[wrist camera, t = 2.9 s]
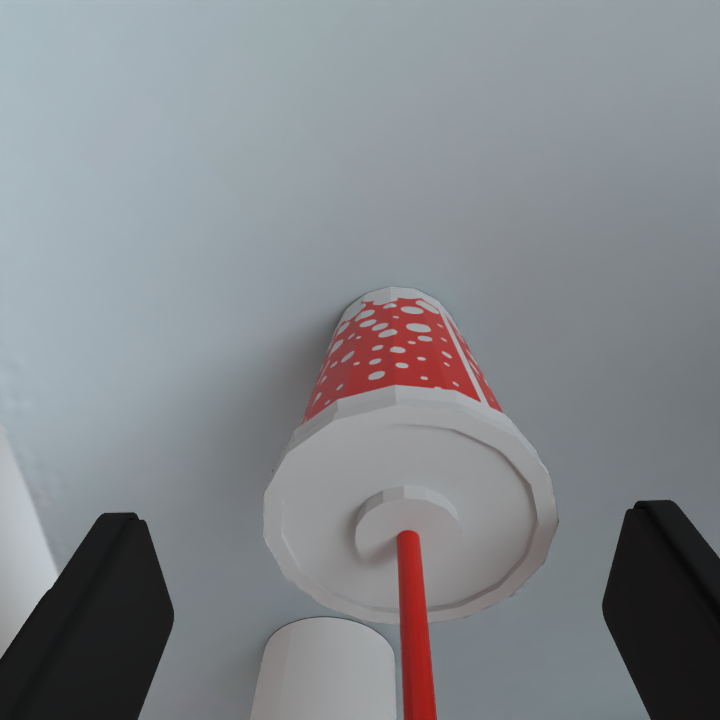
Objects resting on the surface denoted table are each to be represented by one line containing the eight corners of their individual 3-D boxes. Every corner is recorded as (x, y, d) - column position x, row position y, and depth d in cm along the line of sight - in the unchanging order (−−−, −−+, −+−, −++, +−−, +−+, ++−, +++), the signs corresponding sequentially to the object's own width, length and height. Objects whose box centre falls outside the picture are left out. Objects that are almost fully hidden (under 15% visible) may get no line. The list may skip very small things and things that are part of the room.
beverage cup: (280, 355, 19) (79, 856, 6) (385, 227, 16) (402, 612, 4) (403, 441, 20) (442, 979, 8) (515, 335, 18) (825, 856, 5)
